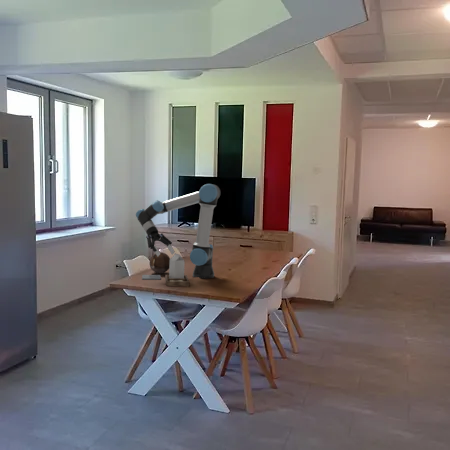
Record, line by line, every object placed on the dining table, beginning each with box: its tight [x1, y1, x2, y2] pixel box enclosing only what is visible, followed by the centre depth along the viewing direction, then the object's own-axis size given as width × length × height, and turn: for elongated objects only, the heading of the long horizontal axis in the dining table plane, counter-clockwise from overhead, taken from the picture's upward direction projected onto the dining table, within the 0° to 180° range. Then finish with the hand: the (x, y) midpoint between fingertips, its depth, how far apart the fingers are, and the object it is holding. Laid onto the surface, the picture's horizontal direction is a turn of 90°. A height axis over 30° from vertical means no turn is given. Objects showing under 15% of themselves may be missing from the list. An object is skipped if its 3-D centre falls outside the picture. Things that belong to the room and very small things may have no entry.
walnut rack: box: [164, 274, 190, 287], centre depth 302 cm, size 14×21×4 cm, turn 9°
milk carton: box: [168, 252, 185, 278], centre depth 306 cm, size 7×7×19 cm
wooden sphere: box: [149, 251, 171, 274], centre depth 337 cm, size 15×15×15 cm
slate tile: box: [141, 274, 162, 281], centre depth 314 cm, size 12×12×2 cm
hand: (166, 254), depth 311 cm, fingers open, 13 cm apart
